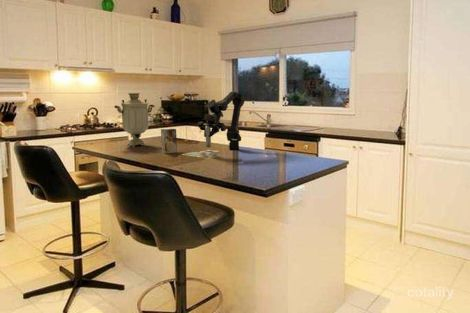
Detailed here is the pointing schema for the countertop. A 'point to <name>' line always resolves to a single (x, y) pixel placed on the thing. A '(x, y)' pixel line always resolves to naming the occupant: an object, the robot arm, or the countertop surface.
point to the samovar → (135, 117)
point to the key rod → (208, 139)
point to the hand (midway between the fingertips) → (206, 136)
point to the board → (204, 154)
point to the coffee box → (169, 140)
